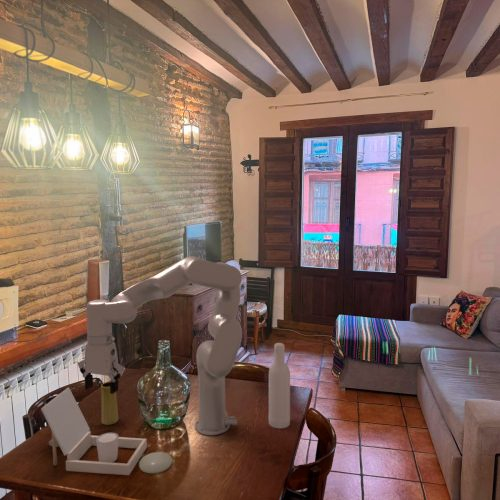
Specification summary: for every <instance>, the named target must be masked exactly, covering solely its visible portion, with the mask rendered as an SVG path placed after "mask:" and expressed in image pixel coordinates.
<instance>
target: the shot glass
mask: <svg viewBox="0 0 500 500" xmlns="http://www.w3.org/2000/svg"><path fill="white" fill-rule="evenodd" d="M97 436H98V437H97V439H96V444H97V446H96V451H97V455H98V456H97V457H98V462H110V463H115V461H117V459H118V456H119V447H118V437H120V436H119V434H118V433H116V432H106V433H102V434H100V435H97Z"/></svg>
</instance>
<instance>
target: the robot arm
mask: <svg viewBox="0 0 500 500" xmlns="http://www.w3.org/2000/svg"><path fill="white" fill-rule="evenodd" d="M242 278H243V277H242V273H241V271H240V269H238V268H237V267H235V266H233V265H231V264H229V263H226V262H222V261H218V262H213V261H209V260H205V259H203V258H200V257H198V256H193V255H190V256H186V257H185V258H183V259H181V260H179V261H177V262H176V263H174V264H172V265H171V266H169V267H167V268H165V269H164V270H163V271H160V272H159V273H157V274H156V275H154V276H151V277H148V278H146V279H144V280H142V281H139V282H138V283H136V284H133V285H132V286H129V287H128V288H126V289H125V290H123V291H121V292H120V293H119V294H117V295H115V296H114V297H113V298H112V299H111V301H110V300H108V299H94V300H91V301H88V302H87V304H86V306H85V310H86V311H85V314H86V315H85V316H86V334H87V335H86V336H87V337H86V338H87V342H85V347H84V357H83V358H84V359H82V360H80V361H78V362H77V364H76V365H77V366H78V368H79V372H80V373H81V374H82V378H84V389H85V390H90V389H91V388H93V387H94V375H99V376H107V377H108V379H109V380H110V381H109V382H110V393H111V394H113V393H115V392H116V393H117V392H118V391H119V380H120V379H121V378H122V377H123V374H124V372H125V370H126V368H125V367H124V366H122V365H121V364H120V363H119V358H118V351H117V347H116V343H115V342H114V341H115V339H116V338H115V336H113V328H112V327H113V326H112V324H128V323H130V322H133V321H134V320H135V319H136V317H137V314H138V309H137V308H139V307H141V306H142V305H144V304H146V303H148V302H150V301H153V300H162V299H163V300H164V299H166V298H170V297H172V296H173V295H175V294H176V293H177V292H179V291H181V290H183V289H184V288H186V287H187V286H189V285H190V284H194V285H197V286H202V287H205V288H209V289H216V297H215V302H214V307H213V309H212V311H211V315H210V318H209V321H208V324H207V331H208V333H209V334H210V335H211V337H212V338H213V340H210V339H209V340H204V341H202V343H200V345H199V346H198V347H197V350H196V356H195V357H196V358H195V359H196V366H197V378H198V386H197V387H198V419H197V420H196V422H195V423H194V429H195V431H196V432H197V433H199V434H201V435H206V436H216V435H221V434H224V433H225V432H227V431H228V430H230V428H231V426H232V425H233V426H238V419H236V416H234V415H233V416H232V415H231V416H229V415H228V411H226V376H227V375H229V373H230V372H231V371H232V369H233V368H234V367H233V366H234V365H235V362H236V359H237V355H238V352H239V349H240V346H241V343H242V339H243V328H242V325H241V324H240V322H239V321H238V320H237V319H236V317H237V314H238V311H239V307H240V304H241V303H240V302H241V288H240V285H241V283H242V280H243V279H242ZM117 371H118V372H117Z"/></svg>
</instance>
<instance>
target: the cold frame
mask: <svg viewBox="0 0 500 500" xmlns="http://www.w3.org/2000/svg"><path fill="white" fill-rule="evenodd" d="M58 394H59V395H58ZM58 394H57V395H58V396H57V397H55V398H54V399H53V400H51V401H50V402H49V403H48V404H46V405H45V404H44V406H43V407H41V409H40V410H41V412H42V414H43V416H44V419H45V420H46V422H47V424H48V426H49V427H50V429H51V439H52V446H51V447H52V458H53V459H52V462H53V466H54V467H55V466H57V465H58V457H57V447H56V440H57V442H58V444H59V448H60V450H61V451H62V453H63V456H67V457H66V458H67V459H66V460H65V472H77V473H78V472H79V473H91V474H93V473H94V474H106V475H108V474H109V475H121V476H130V475H131V473H132V471H133V470H134V468H135V467H136V465H137V464H138V463H139V462H140V460H141V457H142V456H143V454H144V453H145V452H146V449H147V448H148V443H147V442H148V440H147V438H140V437H139V438H138V437H124V436H123V437H121V436H119V437H118V448H124V449H125V448H127V449H135V451H134V452H133V454H132V455H131V456H130V458H129V460H128V461H127V463H124V462H123V463H122V462H112V463H110V462H99V461H96V460H95V461H94V460H80V459H81V458H82V457H83V456H84V455H85V453H87V451H88V450H89V449H90V448H91V447H92V446H95V447H97V444H96V439H97V437H98V436H99V435H94V434H93V435H92V433H91V432H92V431H91V429H90V426H89V425H88V422H87V421H86V418H85V416H84V414H83V412H82V411H81V409H80V407H79V404H78V402H77V401H76V398H75V396H74V395H73V393H72V391H71V389H70V387H67V388H65V389H64V390H63V391H62V392H60V393H58Z"/></svg>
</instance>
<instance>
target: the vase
mask: <svg viewBox="0 0 500 500" xmlns="http://www.w3.org/2000/svg"><path fill="white" fill-rule="evenodd" d="M110 382H111V381H107V382H103V383H102V384H100V394H101V396H100V397H101V420H100V422H101V424H103V425H105V426H108V425H113V424H116V423H117V422H118V421H119V409H118V402H117V401H118V399H117V391H116V392H115V393H113V394H111V393H110Z"/></svg>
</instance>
